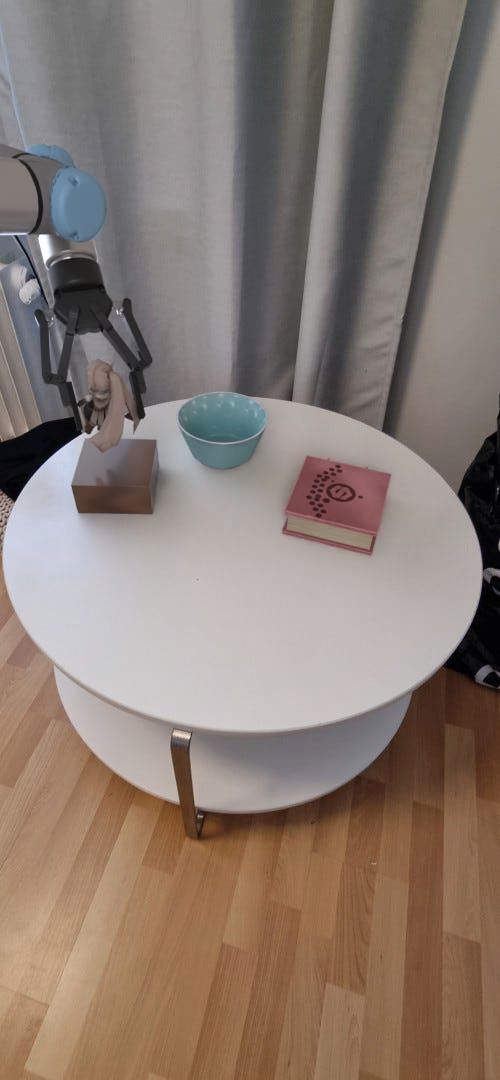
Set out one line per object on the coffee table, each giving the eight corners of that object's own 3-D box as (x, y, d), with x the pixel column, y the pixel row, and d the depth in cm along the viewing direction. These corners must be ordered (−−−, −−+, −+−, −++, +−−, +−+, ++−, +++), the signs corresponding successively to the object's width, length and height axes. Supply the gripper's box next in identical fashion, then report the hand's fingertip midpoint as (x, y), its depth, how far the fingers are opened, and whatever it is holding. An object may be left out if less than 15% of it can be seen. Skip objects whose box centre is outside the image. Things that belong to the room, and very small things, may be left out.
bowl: (186, 424, 112) (184, 387, 106) (268, 431, 111) (270, 393, 105) (171, 478, 101) (168, 439, 95) (262, 485, 100) (264, 447, 94)
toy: (106, 407, 95) (114, 334, 83) (145, 439, 94) (159, 369, 82) (64, 434, 90) (66, 359, 78) (104, 468, 89) (112, 398, 77)
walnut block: (77, 513, 94) (70, 485, 90) (90, 465, 103) (84, 437, 98) (152, 514, 95) (149, 486, 90) (159, 466, 103) (156, 439, 99)
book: (386, 493, 100) (392, 470, 97) (371, 556, 90) (377, 533, 86) (304, 474, 103) (307, 452, 99) (281, 533, 93) (284, 510, 89)
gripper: (143, 270, 90) (177, 415, 92) (-1, 286, 84) (38, 441, 86) (148, 246, 83) (185, 404, 84) (-9, 263, 77) (34, 432, 79)
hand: (111, 423), depth 85 cm, fingers closed on toy, 8 cm apart
